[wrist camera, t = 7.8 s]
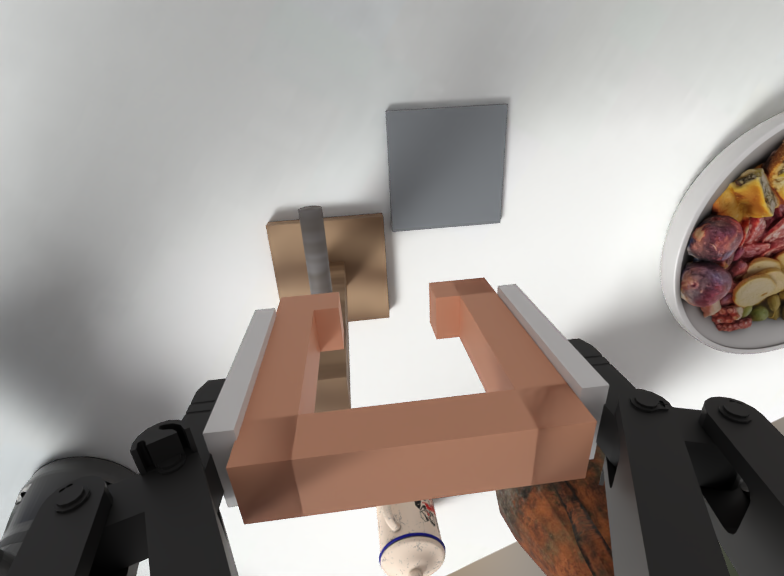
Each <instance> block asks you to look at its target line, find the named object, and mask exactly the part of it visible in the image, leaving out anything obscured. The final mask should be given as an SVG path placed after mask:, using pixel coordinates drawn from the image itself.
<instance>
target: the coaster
mask: <svg viewBox="0 0 784 576" xmlns="http://www.w3.org/2000/svg"><path fill="white" fill-rule="evenodd" d="M507 106H508V104H497V105H480V106H463V107H446V108H429V109H412V110H395V111H386V125H387V144H388V162H389V181H390V200H391V219H392V231H393V232H397V231H409V230H421V229H433V228H445V227H457V226H469V225H481V224H493V223H500V217H501V201H502V185H503V169H504V153H505V137H506V121H507Z"/></svg>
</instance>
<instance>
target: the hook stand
mask: <svg viewBox="0 0 784 576" xmlns="http://www.w3.org/2000/svg"><path fill="white" fill-rule="evenodd" d="M298 212H299V219H300V220H288V221H275V222H268V223H267V225H266V229H267V234H268V240H269V245H270V250H271V256H272V261H273V266H274V272H275V277H276V282H277V288H278V293H279V298H280V300H281V297H291V296H301V295H312V294H322V293H332V292H339V295H340V303H341V311H342V319H343V327H344V349H341V350H332V351H322V352H320V360H319V370H318V380H317V390H316V400H315V411H314V413H319V412H327V411H336V410H344V409H351V397H350V365H349V333H348V322H349V321H359V320H369V319H379V318H389V302H388V286H387V270H386V254H385V237H384V221H383V215H382V213H376V214H363V215H351V216H338V217H326V218H323V212H322V207H320V206H308V207H303V208H300V209H298Z"/></svg>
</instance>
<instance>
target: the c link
mask: <svg viewBox="0 0 784 576" xmlns="http://www.w3.org/2000/svg"><path fill="white" fill-rule="evenodd" d="M429 297H430V323H431V326H432V328H433V331H434V334H435V336H436V339H443V338H452V337H460V339H461V341H462V343H463V345H464V347H465V350H466V352H467V354H468V356H469V358H470V360H471V362H472V364H473V366H474V368H475V370H476V372H477V374H478V376H479V378H480V381H481V383H482V385H483V387H484V389H485V391H486V393H479V394H471V395H462V396H454V397H446V398H437V399H429V400H420V401H412V402H403V403H395V404H386V405H378V406H369V407H361V408H352V409H344V410H336V411H327V412H319V413H314V411H315V400H316V390H317V380H318V370H319V360H320V352H322V351H332V350H341V349H344V327H343V319H342V311H341V303H340V295H339V292H332V293H322V294H312V295H301V296H291V297H281V300H280V303H279V306H278V309H277V312H276V319H275V322H274V325H273V328H272V331H271V334H270V337H269V341H268V344H267V347H266V350H265V353H264V356H263V359H262V363H261V366H260V369H259V372H258V375H257V378H256V381H255V385H254V388H253V391H252V394H251V397H250V400H249V403H248V407H247V410H246V413H245V416H244V419H243V422H242V425H241V429H240V432H239V435H238V438H237V440H235V442H234V445H233V448H232V451H231V454H230V457H229V460H228V463H227V466H226V470H227V473H228V476H229V479H230V482H231V485H232V488H233V491H234V494H235V497H236V500H237V503H238V507H239V510H240V513H241V516H242V519H243V522H244V524H251V523H258V522H265V521H273V520H280V519H287V518H295V517H302V516H310V515H317V514H324V513H332V512H339V511H346V510H354V509H361V508H368V507H376V506H383V505H390V504H398V503H405V502H413V501H420V500H427V499H435V498H442V497H449V496H457V495H464V494H471V493H479V492H486V491H494V490H501V489H508V488H516V487H523V486H530V485H538V484H545V483H552V482H560V481H567V480H575V479H582V478H585V477H586V472H587V467H588V462H589V457H590V453H591V448H592V443H593V438H594V433H595V429H596V424H597V421H596V419H595V418H594V417H593V416H592V414H591V413H590V412H589V411H588V409H587V408H586V407H585V405H584V404H583V403H582V402H581V400H580V399H579V398H578V397H577V395H576V394H575V393H574V391H573V390H572V389H571V388H570V386H569V385H568V384H567V383H566V381H565V380H564V379H563V377H562V376H561V375H560V374H559V372H558V371H557V370H556V369H555V367H554V366H553V365H552V363H551V362H550V361H549V360H548V358H547V357H546V356H545V355H544V353H543V352H542V351H541V349H540V348H539V347H538V346H537V344H536V343H535V342H534V341H533V339H532V338H531V337H530V335H529V334H528V333H527V332H526V330H525V329H524V328H523V327H522V325H521V324H520V323H519V321H518V320H517V319H516V318H515V316H514V315H513V314H512V313H511V311H510V310H509V309H508V307H507V306H506V305H505V304H504V302H503V301H502V300H501V298H500V297H499V296H498V295H497V293H496V292H495V291H494V290H493V288H492V287H491V286H490V284H489V283H488V282H487V281H486V279H485V278H475V279H465V280H455V281H445V282H434V283H429Z"/></svg>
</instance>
